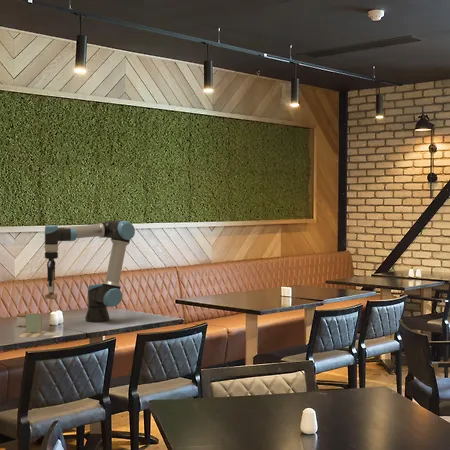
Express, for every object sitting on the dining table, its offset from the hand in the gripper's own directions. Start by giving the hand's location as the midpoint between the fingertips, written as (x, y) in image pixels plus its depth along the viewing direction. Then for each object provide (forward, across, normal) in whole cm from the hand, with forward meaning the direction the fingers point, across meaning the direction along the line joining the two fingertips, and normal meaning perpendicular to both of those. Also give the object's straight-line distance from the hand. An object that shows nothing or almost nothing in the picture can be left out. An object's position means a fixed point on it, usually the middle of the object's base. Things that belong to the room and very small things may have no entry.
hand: (51, 291), depth 427 cm
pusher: (+4, 0, 0) cm, 4 cm away
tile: (+23, +8, -8) cm, 25 cm away
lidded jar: (+23, -14, -18) cm, 32 cm away
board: (+23, +13, -8) cm, 28 cm away
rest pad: (+23, +13, +3) cm, 27 cm away
